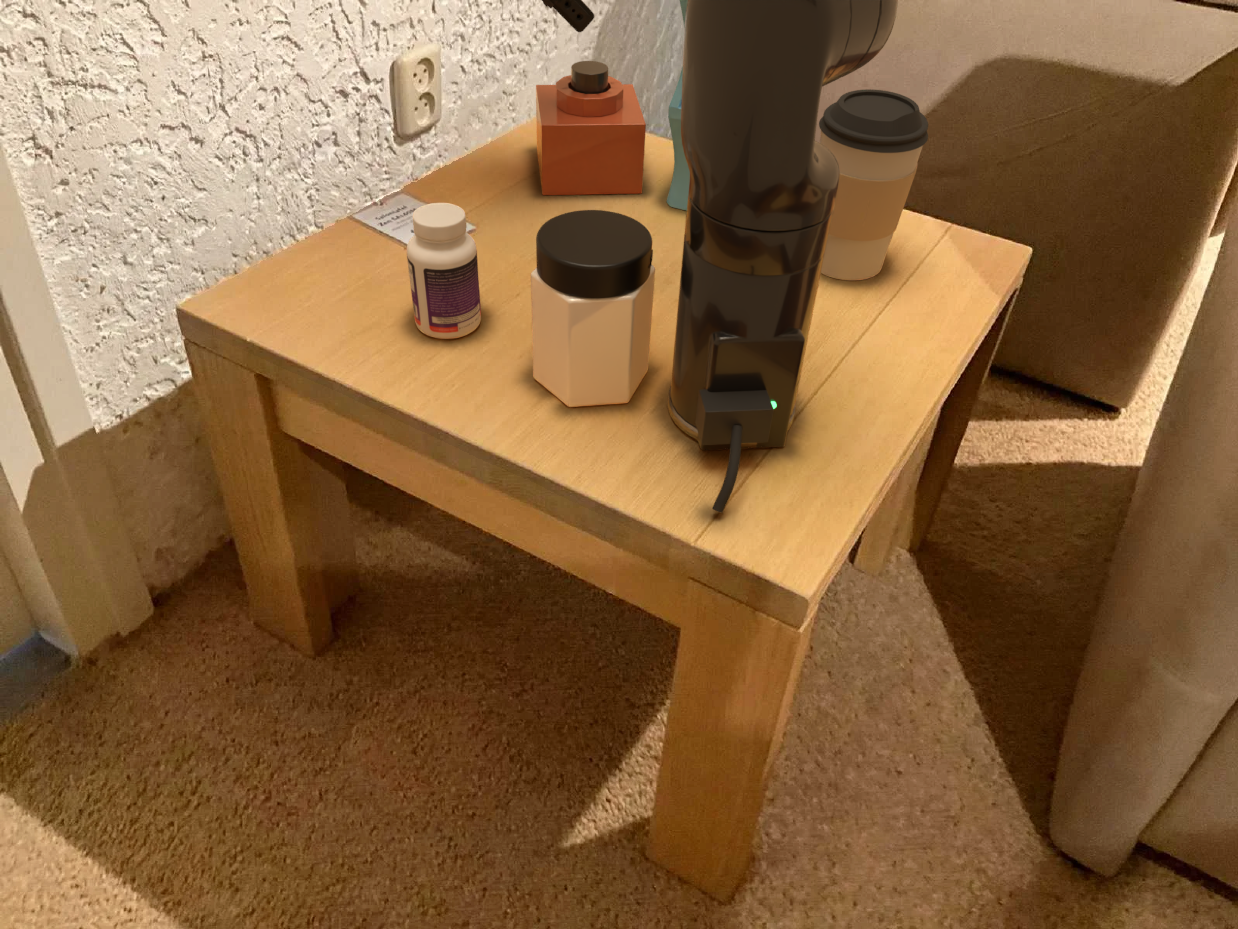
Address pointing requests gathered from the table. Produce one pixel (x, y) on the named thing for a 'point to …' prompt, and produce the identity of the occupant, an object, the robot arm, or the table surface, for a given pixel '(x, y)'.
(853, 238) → the coffee cup
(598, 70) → the box button
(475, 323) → the pill bottle
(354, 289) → the table surface
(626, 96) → the orange box with knob
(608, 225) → the jar
